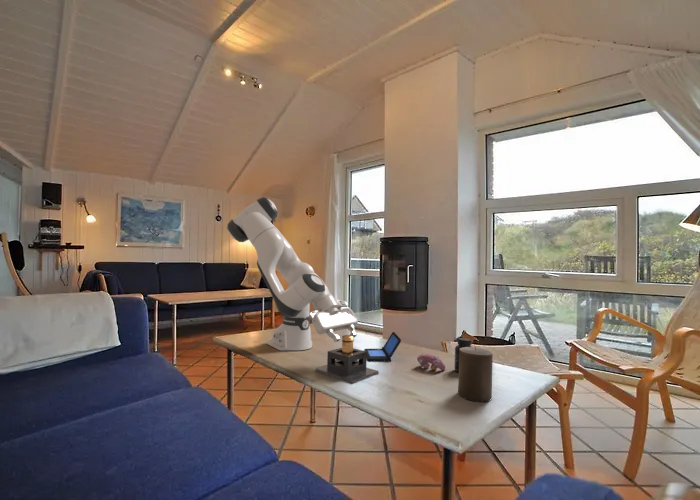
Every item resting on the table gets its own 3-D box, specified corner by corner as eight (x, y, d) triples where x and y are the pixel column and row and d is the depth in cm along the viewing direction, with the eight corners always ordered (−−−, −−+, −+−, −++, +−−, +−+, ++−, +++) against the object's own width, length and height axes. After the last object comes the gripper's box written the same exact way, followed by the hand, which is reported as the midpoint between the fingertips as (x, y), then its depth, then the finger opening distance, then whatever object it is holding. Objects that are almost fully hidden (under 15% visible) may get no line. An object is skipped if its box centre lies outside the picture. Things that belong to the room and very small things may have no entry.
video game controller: (418, 370, 133) (414, 355, 131) (423, 363, 136) (419, 348, 134) (442, 376, 126) (438, 361, 124) (447, 368, 130) (443, 353, 127)
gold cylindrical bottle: (338, 369, 124) (339, 336, 124) (346, 367, 127) (347, 334, 127) (347, 372, 121) (348, 337, 122) (355, 369, 124) (355, 336, 125)
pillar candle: (474, 404, 99) (475, 351, 99) (451, 391, 108) (452, 343, 108) (499, 399, 103) (500, 349, 103) (475, 388, 112) (476, 341, 112)
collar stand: (315, 371, 125) (315, 350, 125) (341, 362, 135) (342, 343, 135) (352, 383, 113) (353, 360, 113) (378, 373, 123) (378, 352, 124)
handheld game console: (363, 351, 153) (364, 330, 154) (393, 351, 154) (393, 331, 155) (368, 362, 138) (368, 339, 138) (401, 362, 139) (401, 339, 139)
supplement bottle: (475, 375, 124) (475, 341, 124) (455, 373, 125) (455, 340, 126) (472, 369, 131) (472, 337, 131) (453, 367, 132) (454, 336, 133)
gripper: (312, 306, 123) (331, 338, 116) (349, 301, 139) (368, 329, 132) (303, 317, 126) (321, 349, 119) (340, 311, 141) (358, 339, 135)
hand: (346, 338), depth 126 cm, fingers open, 8 cm apart
